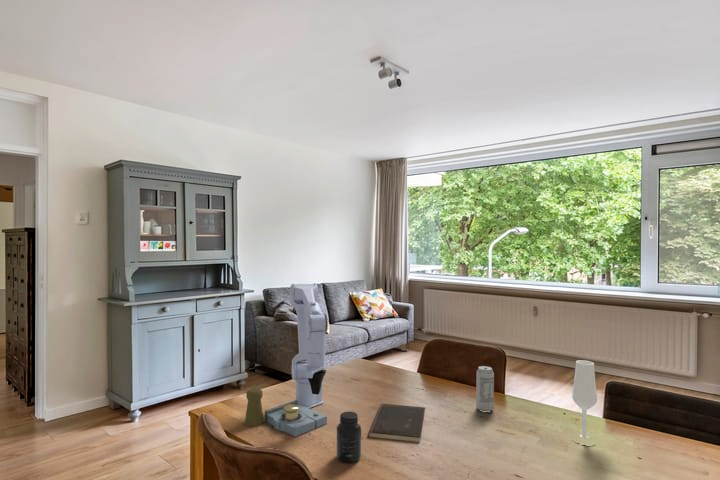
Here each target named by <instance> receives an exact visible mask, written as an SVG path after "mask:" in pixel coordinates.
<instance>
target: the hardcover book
mask: <svg viewBox="0 0 720 480" xmlns="http://www.w3.org/2000/svg"><path fill="white" fill-rule="evenodd" d="M425 411H426V407H425V406H424V407H423V406H414V405H413V406H412V405H404V404H403V405H402V404H393V403H380V405H379V407H378V410H377V411H376V414H375V416H374V418H373V421H372V423H371V426H370V428H369V430H368V433H367V437H368V438H369V437H370V438H377V439H388V440H398V441H405V442H407V441H408V442H414V443H415V442H416V443H417V442H418V443H419V442H420V439H421V438H422V431H423V424H424V419H425V418H424V417H425V413H426V412H425Z"/></svg>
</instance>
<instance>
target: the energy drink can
mask: <svg viewBox="0 0 720 480" xmlns="http://www.w3.org/2000/svg"><path fill="white" fill-rule="evenodd" d="M475 379H476V382H475V383H476V385H475V386H476V387H475V389H476V391H475V393H476V394H475V400H476V401H475V407H476V409H477V410H478V409H479V410H482V411H491V410H492V411H493V410H494V408H495V407H494V405H495V404H494V403H495V397H494V396H495V394H494V393H495V387H494V386H495V373H494V371H493V368H492V367H491V366H486V365H481V366H479V365H478V369H477V370H476V378H475ZM479 410H478V411H479Z"/></svg>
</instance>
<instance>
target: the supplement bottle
mask: <svg viewBox="0 0 720 480" xmlns="http://www.w3.org/2000/svg"><path fill="white" fill-rule="evenodd" d="M358 417H359V416H358V414H357V413H356V412H355V411H344V412H342V413H340V415H339V418H340V419H339V423H338V425H337V426H336V458H337V460H338V461H339V462H341V463H343V464H353V463H354V464H355V463H356V462H358V461H360V460H361V457H362V426H361V424H360V423H359V419H358Z"/></svg>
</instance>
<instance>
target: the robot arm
mask: <svg viewBox="0 0 720 480" xmlns="http://www.w3.org/2000/svg"><path fill="white" fill-rule="evenodd" d="M289 287H290V288H289V295H290V296H289V297H290V298H289V299H290V306H291V308H293V309H295V311H296V312H295V313H296V317H297V318H296V319H297V339H298V353H297V354H296V355H295V356H294V357H293V358H292V359H291V378H292V380H293V381H295V400H297V401H298V404H300V405H302V406H304V407H307V408H309V409H311V408H313V407H317V406H320V405H323V404H324V401H323V380H324V377H325V375H326V373H327V370H326V368H327V367H326V366H327V365H326V363H327V362H326V361H327V360H326V333H327V331H328V327H329V326H328V325H329V323H328V321H329V319H328V315H327V314H326V313H324V312H323V311H322V309H321V306H320V303H318V302H317V300H318V297H319V287H318V285H317V284H316V283H315V282H314V283H291V284H290V286H289Z"/></svg>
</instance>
